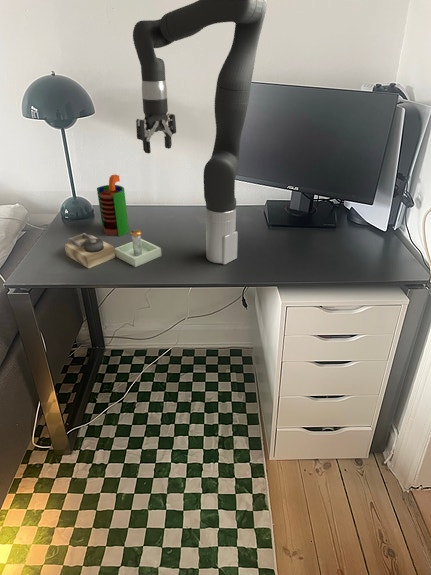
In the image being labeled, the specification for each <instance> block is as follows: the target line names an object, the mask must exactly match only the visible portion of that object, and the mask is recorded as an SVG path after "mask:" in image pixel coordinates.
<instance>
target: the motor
mask: <svg viewBox="0 0 431 575" xmlns="http://www.w3.org/2000/svg"><path fill="white" fill-rule="evenodd" d="M120 181H121V180H120V175H118V174H112V175H110V176H109V180H108V184H106V185H101V186H98V187H97V188H96V191H97V199H98V205H99V211H100V219H101V225H102V230H103V232H104V234H105V235H107V236H118V237H121V236H124V235H126V234H128V233H129V231H130V228H129V218H128V209H127V203H126V202H127V200H126V192H125V188H124V186H122V185H119V184H116V183H117V182H120Z"/></svg>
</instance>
